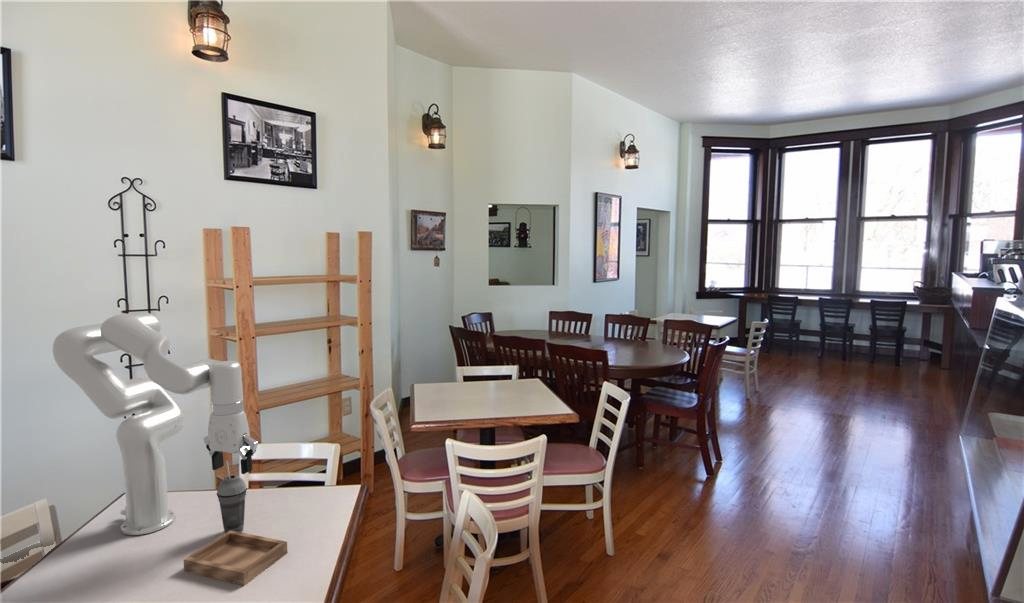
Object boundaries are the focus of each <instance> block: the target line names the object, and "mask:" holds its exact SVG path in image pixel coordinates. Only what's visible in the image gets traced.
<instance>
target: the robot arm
mask: <svg viewBox="0 0 1024 603" xmlns="http://www.w3.org/2000/svg"><path fill="white" fill-rule="evenodd" d="M160 332H161V323H160V321H159V319H158V318H157V316H155V315H154V314H152V313H150V312H146V311H136V312H129V313H122V314H116V315H112V316H111V317H110V316H109V318H107V319H106V320H104V321H103V322H102V323H96V324H90V325H89V324H88V325H82V326H78V327H73V328H70V329H69V328H68V329H65V330H64V331H62V332H61V333H59V334H57V336H56V337H55V338H54V340H53V343H52V355H53V358H54V360H55V364H56V366H58V368H59V369H60V370H61V371H62V372H63V373H64V374H65V375H66V376H67V377H68V378H70V379H71V380H72V381H73V382H74V383H75V384H77V385H78V387H79V388H80V389H81V390H82V391H83V393H84V394H85V395H86V396H87V397H88V399H89V400H90V401H91V402H92V403H93V404H94V405H95V407H96V408H97V409H98V410H99V411H100V413H102V414H103V415H104V416H105V417H107V418H109V419H113V420H115V419H120V418H124V417H127V418H126V419H124V420H123V421H122V422H121V423H120V424H119V425H118V427H117V429H116V434H115V435H116V441H117V444H118V447H119V449H120V450H119V451H120V454H121V458H122V468H123V477H124V492H125V503H126V504H125V506H124V507H125V508H124V509H121V510H120V513H119V514H120V515H122V516H125V521H123V523H121V525H120V530H121V531H120V532H121V533H122V534H124V535H127V536H140V535H146V534H150V533H153V532H157V531H159V530H162V529H165V528H166V527H169V525H171V524H172V523H173V522H174V521H175V519H176V513H175V512H174V511H173V510H171V509H169V500H168V499H169V498H168V486H167V485H168V484H167V483H168V482H167V470H166V469H167V468H166V460H165V456H164V453H163V452H162V451H161V450H160V448H159V447H158V444H159V443H161V442H163V441H165V440H167V439H170V438H171V437H173V436H176V435H177V434H179V433H181V432H182V431H183V429H184V427H185V425H186V424H185V423H186V417H185V415H184V411H182V409H181V408H180V406H179V405H178V404H177V403H176V402H175V401H174V400H173V399H172V397H171V396H170V395H169V394H168V392H169V393H172V394H175V395H179V396H181V395H182V396H185V395H190V394H193V393H194V392H197V391H201V390H204V389H208V388H209V389H210V391H209V392H210V402H211V403H210V407H211V413H210V414H209V420H208V431H207V433H208V435H207V436H204V437H203V443H204V444H205V446H206V447H205V448H206V450H207V451H208V454H209V456H210V458H211V467H212V471H217V470H218V469H222V468H223V467H224V465H225V464H224V453H229V454H237V453H238V455H239V457H240V458H241V459H240V472H241V473H240V474H242V475H246V474H248V473H249V472H251V471H252V470H253V461H252V460H253V459H252V457H254V455H255V453H256V452H257V449H258V446H259V442H258V441H257V440H255V438H252V437H251V434H250V433H251V432H250V426H249V421H248V418H247V414H246V412H245V406H244V405H245V403H244V390H243V388H244V387H243V378H242V373H243V372H242V367H241V363H239V362H238V361H236V360H223V361H222V360H217V359H212V358H207V359H205V358H204V359H201V360H200V359H199V360H196V361H193V362H189V363H185V364H181V365H179V364H178V363H175V362H174V361H172V360H170V359H168V358H166V355H167V354H168V352H169V350H170V347H171V341H170V339H169V338H168V336H166V335H165V334H162V333H160ZM120 350H121V351H123V352H124V353H126V354H127V355H129V356H131V357H132V358H135V359H136V360H138V361H140V362H142V364H143V368H144V371H145V373H146V374H147V376H148V377H146V376H140V377H135V378H130V379H127V380H126V379H124V378H122V377H121V376H120V375H119V374H118V373H117V372H116V371H115V369H114V368H113V367H112V366H110V365H109V364H108V363H106V362H103V361H102V360H99V359H97V358H95V357H94V356H97V355H103V354H107V353H111V352H116V351H120ZM167 391H168V392H167ZM138 412H139V413H138ZM132 414H134V415H132ZM130 415H131V416H130ZM128 416H129V417H128Z"/></svg>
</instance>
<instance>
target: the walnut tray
mask: <svg viewBox="0 0 1024 603" xmlns="http://www.w3.org/2000/svg"><path fill="white" fill-rule="evenodd" d="M287 554H288V541H284V540H281V539H275V538H270V537H266V536H265V537H264V536H262V535H261V536H260V535H255V534H251V533H245V532H242V533H241V532H236V531H231V530H230V531H229V532H227V533H225V532H224V534H222V535H221V536H219V537H217V538H216V539H214V540H212V541H211V542H209V543H208V544H206V545H204V546H203V547H201V548H199V549H198V550H197V551H194V552H193V553H191V554H189V555H188V556H186V557H185V558H183V571H184V572H186V573H190V574H195V575H199V576H202V577H207V578H211V579H214V580H215V579H216V580H220V581H223V580H225V581H224V582H227V581H229V582H228V583H231V582H235V583H234V584H236V583H238V584H237V585H240V584H241V585H240V586H244V585H245V586H246V585H247V584H249V583H250V582H252V581H253V580H254V579H255V578H257V577H258V576H259V575H261V574H262V573H263V572H265V571H266V570H267V569H269V568H270V567H271V566H272V565H274V564H275V563H276V562H278V561H279V560H280V559H281V558H283V557H284V556H285V555H287ZM265 569H266V570H265ZM262 571H263V572H262ZM261 572H262V573H261ZM260 573H261V574H260ZM258 574H259V575H258ZM257 575H258V576H257ZM256 576H257V577H256ZM254 577H255V578H254ZM253 578H254V579H253ZM252 579H253V580H252ZM248 582H249V583H248Z"/></svg>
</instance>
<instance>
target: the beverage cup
mask: <svg viewBox="0 0 1024 603" xmlns="http://www.w3.org/2000/svg"><path fill="white" fill-rule="evenodd" d="M228 461H229V460H227V459H226V460H225V466H226V467H225V468H226V472H227V473H226V474H227V476H226V477H225V478H223V479H222V480H221V481H220V483H219V484H218V487H217V490H216V496H217V499H218V503H219V506H220V508H219V509H220V513H221V520H222V526H223V531H224V534H225V533H227V532H229V531H230V530H231V531H236V532H241V533H243V532H244V526H245V512H246V511H245V507H246V506H245V505H246V496H247V490H248V488H247V485H246V482H245V480H244V479H243V478H242V477H241V476H238V475H230V474H231V472H230V467H229V462H228ZM242 531H243V532H242Z"/></svg>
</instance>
